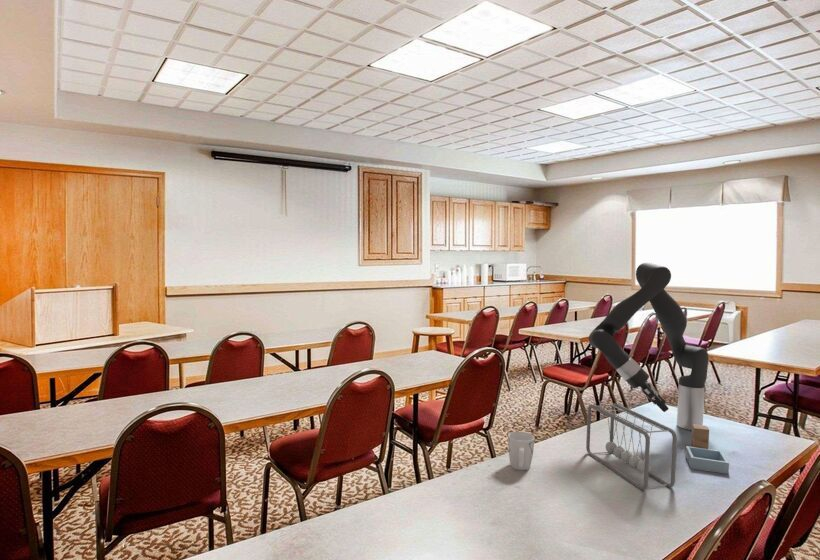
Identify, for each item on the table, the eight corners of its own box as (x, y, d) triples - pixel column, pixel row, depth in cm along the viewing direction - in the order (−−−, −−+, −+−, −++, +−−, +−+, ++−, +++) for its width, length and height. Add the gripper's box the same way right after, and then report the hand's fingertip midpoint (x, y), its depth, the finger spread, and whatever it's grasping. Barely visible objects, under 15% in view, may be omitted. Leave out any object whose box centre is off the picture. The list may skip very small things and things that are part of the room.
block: (691, 448, 178) (692, 424, 177) (705, 450, 176) (706, 425, 176) (693, 453, 174) (694, 428, 173) (708, 455, 172) (709, 429, 171)
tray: (685, 456, 171) (686, 446, 170) (720, 461, 167) (721, 450, 166) (690, 468, 161) (691, 457, 160) (728, 474, 157) (729, 463, 157)
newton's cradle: (585, 452, 172) (587, 402, 171) (611, 450, 175) (613, 401, 174) (645, 493, 143) (647, 433, 142) (675, 490, 145) (678, 431, 145)
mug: (534, 477, 152) (535, 445, 151) (506, 474, 153) (507, 443, 153) (533, 462, 163) (533, 432, 162) (507, 459, 165) (508, 430, 164)
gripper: (641, 370, 174) (676, 406, 171) (638, 362, 187) (671, 395, 184) (624, 383, 176) (658, 419, 173) (623, 374, 190) (654, 407, 186)
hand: (665, 407), depth 178 cm, fingers open, 8 cm apart
